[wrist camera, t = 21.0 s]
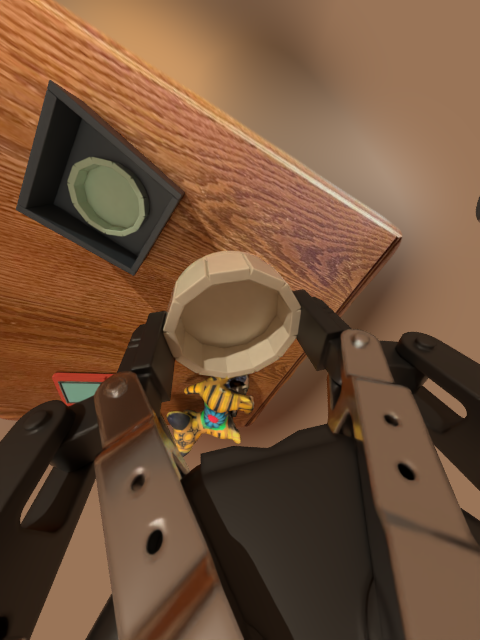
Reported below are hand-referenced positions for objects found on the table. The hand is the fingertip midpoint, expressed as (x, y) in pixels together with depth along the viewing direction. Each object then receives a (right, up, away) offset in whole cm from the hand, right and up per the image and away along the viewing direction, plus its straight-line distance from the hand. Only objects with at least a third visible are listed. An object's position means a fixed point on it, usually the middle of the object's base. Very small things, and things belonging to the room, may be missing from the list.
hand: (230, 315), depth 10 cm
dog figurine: (-7, -18, +36) cm, 40 cm away
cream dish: (0, +1, +1) cm, 1 cm away
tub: (-13, +13, +11) cm, 21 cm away
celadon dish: (-13, +13, +10) cm, 21 cm away
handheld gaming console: (-26, -14, +28) cm, 41 cm away
